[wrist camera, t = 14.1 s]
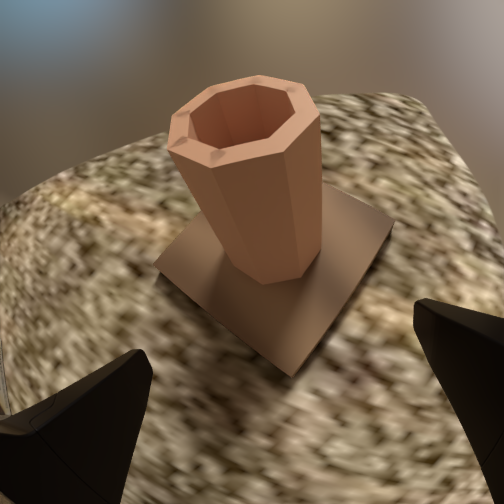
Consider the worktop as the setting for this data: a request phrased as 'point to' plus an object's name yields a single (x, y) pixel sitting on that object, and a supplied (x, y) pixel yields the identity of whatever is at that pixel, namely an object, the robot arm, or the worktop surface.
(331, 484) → the worktop surface
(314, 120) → the terracotta collar
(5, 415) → the coffee box
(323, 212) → the post stand
